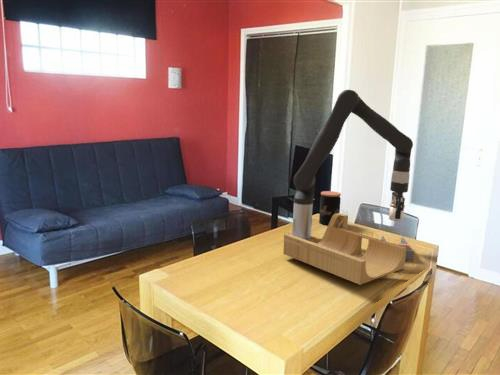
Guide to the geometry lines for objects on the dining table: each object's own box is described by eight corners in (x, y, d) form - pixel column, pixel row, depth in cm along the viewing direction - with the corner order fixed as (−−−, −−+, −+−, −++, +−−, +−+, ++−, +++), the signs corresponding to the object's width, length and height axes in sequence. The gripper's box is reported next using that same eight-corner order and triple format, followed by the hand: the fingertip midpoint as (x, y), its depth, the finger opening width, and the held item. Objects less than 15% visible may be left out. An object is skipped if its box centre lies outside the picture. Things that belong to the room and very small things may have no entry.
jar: (390, 220, 195) (392, 205, 194) (387, 217, 201) (388, 202, 200) (404, 221, 194) (406, 206, 193) (401, 218, 200) (402, 203, 199)
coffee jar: (315, 223, 239) (317, 191, 236) (331, 222, 244) (333, 190, 240) (326, 228, 230) (328, 195, 226) (342, 226, 234) (345, 194, 231)
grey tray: (388, 259, 185) (389, 249, 184) (380, 245, 204) (381, 236, 203) (413, 260, 184) (414, 251, 183) (402, 246, 202) (403, 237, 202)
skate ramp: (282, 256, 186) (284, 219, 183) (336, 242, 208) (338, 209, 205) (359, 287, 155) (362, 244, 153) (412, 267, 178) (416, 229, 175)
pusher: (391, 256, 186) (392, 244, 186) (390, 254, 189) (391, 242, 188) (408, 257, 186) (409, 245, 185) (407, 255, 188) (408, 243, 187)
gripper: (388, 177, 202) (384, 212, 205) (395, 183, 188) (390, 220, 191) (404, 178, 201) (400, 213, 204) (412, 184, 187) (408, 221, 190)
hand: (395, 216), depth 197 cm, fingers closed on jar, 6 cm apart
